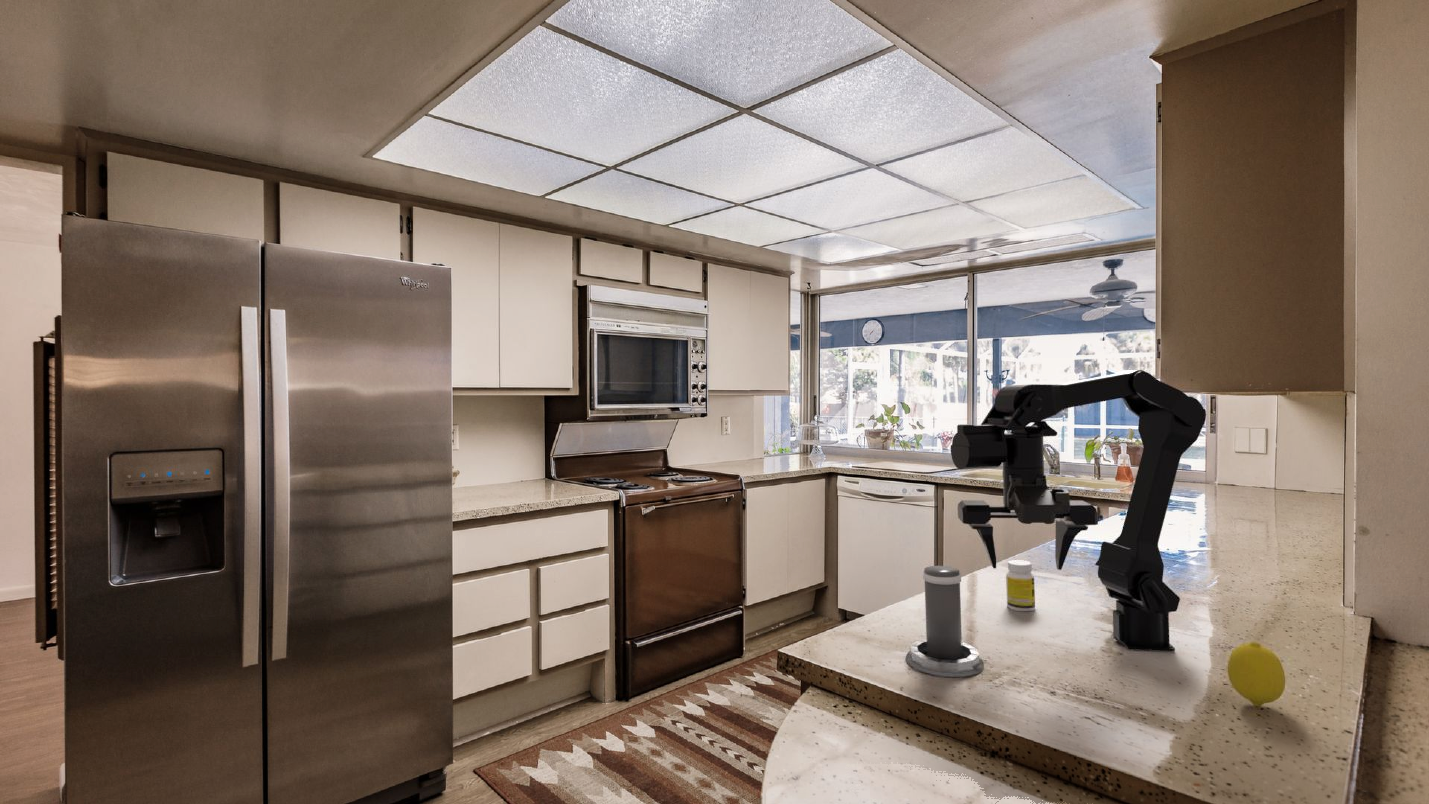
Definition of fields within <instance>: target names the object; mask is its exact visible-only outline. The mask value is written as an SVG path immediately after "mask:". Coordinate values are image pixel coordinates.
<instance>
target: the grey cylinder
mask: <svg viewBox="0 0 1429 804" xmlns="http://www.w3.org/2000/svg"><path fill="white" fill-rule="evenodd" d="M922 579H923V581H924V598H925V599H924V603H925V605H924V607H925V635H926V636H925V637H926V638H925V639H926V640H927V657H931V658H935V659H939V660H959V659H962V642H963V641H962V640H963V637H962V635H963V634H962V611H961V610H962V609H961V608H962V607H961V606H962V605H961V604H962V603H961V582H962V573H961V572H960V569H958V568H956V567H952V566H947V565H930V566H927V567H925V568H924V569H923V571H922Z"/></svg>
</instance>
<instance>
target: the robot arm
mask: <svg viewBox="0 0 1429 804" xmlns="http://www.w3.org/2000/svg"><path fill="white" fill-rule="evenodd" d="M1118 399H1122V400H1123V403H1124V404H1125V406H1126V408H1127V410H1129V411H1130V412H1131V413H1133V414H1134V415H1135V416H1136V417H1137V418H1138V427H1137V430H1138V434H1139V437H1140V439H1141V443H1142V447H1143V449H1142V454H1141V457H1140V461H1139V465H1138V467H1137V469H1138V470H1137V473H1136V475H1135V480H1134V483H1133V486H1132V487H1133V488H1132V490H1131V491H1132V492H1131V496H1130V498H1129V503H1128V506H1127V510H1126V514H1125V518H1124V522H1123V526H1122V529H1121V533H1120V534H1119V536H1118V537H1117V538H1116V539H1114V541H1113V542H1109V541H1105V540H1104V541H1103V542H1102V544H1101V545H1100V552H1099V553H1100V554H1099V557H1098V559H1097V561H1096V562H1095V563H1094V564H1095V566H1097V567H1098V568H1097V576H1098V577H1097V578H1099V579H1100V581H1101V584H1102V585H1103V586H1104V587H1105V590H1106V592H1107V594H1108V596H1109V597H1110V598H1112V599H1116V600H1115V609H1113V611H1112V623H1113V624H1112V627H1113V629H1112V631H1113V632H1112V635H1113V637H1114V638H1115V639H1117V640H1118V642H1120V643H1121V645H1123V646H1124V647H1125V648H1126V649H1127V650H1135V651H1157V652H1158V651H1159V652H1175V651H1176V647H1174V646H1173V645H1172V644H1170V615H1169V614H1170V613H1172V612H1173V613H1175V612H1177V611H1178V607H1179V606H1180V605H1179V603H1180V601H1181V598H1180V596H1178V595H1177V594H1176V593H1175V592H1174V591H1173V590H1172V589H1171V588H1170V587H1169V586H1168V585H1167V584H1166V583H1165V582H1164V580H1163V578H1164V568H1165V565H1164V562H1163V559H1162V554H1161V552H1160V548H1159V541H1160V537H1161V534H1162V530H1163V526H1164V523H1165V519H1166V513H1167V511H1168V507H1169V502H1170V499H1171V496H1172V492H1173V488H1174V483H1175V480H1176V477H1177V473H1178V468H1179V466H1180V465H1179V464H1180V461H1181V458H1182V455H1183V454H1184V453H1186V451H1187V450H1189V448H1191V447H1192V446H1193V444H1194V443H1195V442H1196V441H1197V440H1198V438H1199V437H1200V433H1201V432H1202V429H1203V428H1204V425H1205V422H1206V418H1207V411H1206V409H1205V408H1204V407H1203V405H1202V402H1200V400H1198V399H1197V398H1195V397H1193V396H1189V395H1187V394H1186V393H1185V392H1184V391H1182V390H1180V389H1178V388H1176V387H1174V386H1172V385H1169V384H1167V383H1165V382H1163V381H1161V380H1159V379H1157V378H1156V377H1155V376H1153V375H1152V374H1151V373H1149V372H1147V371H1145V370H1143V369H1136V370H1135V369H1133V370H1121V371H1118V372H1116V373H1112V374H1107V375H1102V376H1101V375H1100V376H1096V377H1091V378H1084V379H1079V380H1072V381H1067V382H1063V383H1057V384H1040V383H1039V384H1036V383H1035V384H1015V385H1014V384H1011V385H1010V384H1009V385H1005V386H1003V387H1001V388H1000V389H999V391H998V392H997V394H996V396H995V399H994V404H993V405H992V407H991V408H990V410H989V412H988V413H987V414H986V416H985V418H984V419H983V420H982V422H981V423H980V424H977V425H976V424H974V425H973V424H965V423H964V424H963V423H962V424H957V426H956V433H955V434H954V436H953V438H952V441H951V442H952V443H951V444H950V456H951V459H952V463H953V464H954V466H955V467H956V468H957V469H959V470H977V469H979V470H981V469H982V470H983V469H996V468H999V467H1000V466H1001V465H1002V481H1003V483H1002V484H1003V486H1002V487H1003V497H1002V498H1003V499H1002V500H1003V505H990V504H989V503H987V502H986V500H982V499H981V500H977V499H976V500H971V499H970V500H969V499H968V500H961V501H960V502H959V503H958V504H957V518H958V519H959V521H960V522H961V523H962V524H964V525H968V526H969V527H970V528H971V529H972V530H976V531H977V533H978V536H979V537H980V539H981V542H982V544H983V546H984V548H985V551H986V554H987V557H988V559H989V562H990V565H991V567H992V569H997V555H996V547H995V542H994V541H995V540H994V526H993V525H992V524H991V523H990V520H991V519H1017V520H1018V522H1019V523H1021V524H1025V525H1030V524H1033V523H1035V524H1045V525H1052V524H1054V523H1055V536H1054V537H1055V542H1054V544H1055V546H1054V547H1055V548H1054V549H1055V552H1054V554H1055V555H1054V557H1055V565H1056V569H1057V570H1059V571H1061V570H1062V568H1063V566H1064V563H1065V560H1066V558H1067V556H1068V553H1069V551H1070V548H1071V545H1072V543H1073V541H1074V539H1075V538H1076V537H1077V535H1079V533H1080V532H1082V531H1088V529H1089V526H1096V525H1099V520H1098V519H1099V516H1098V511H1097V510H1098V509H1097V508H1096V507H1095V506H1094V505H1092V504H1090V503H1089V502H1086V501H1084V500H1071V499H1070V492H1069V490H1068V488H1064V487H1063V488H1061V487H1060V488H1052V489H1049V487H1048V484H1047V477H1046V475H1045V458H1044V457H1045V456H1044V455H1045V454H1044V452H1045V451H1044V450H1045V448H1044V437H1046V438H1047V437H1057V435H1058V432H1057V431H1056V430H1055V429H1054V428H1053V427H1052V426H1050V425H1049V424H1048V423H1047V421H1045V420H1046V419H1049V418H1053V417H1054V416H1057V414H1060V413H1061V412H1062V411H1064V410H1067V409H1070V408H1074V407H1081V406H1086V405H1091V404H1097V403H1101V402H1102V403H1103V402H1106V401H1113V400H1118ZM1031 423H1033V424H1032V425H1030V424H1031ZM1005 431H1007V433H1006V432H1005ZM1009 431H1010V432H1009Z"/></svg>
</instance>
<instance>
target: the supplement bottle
mask: <svg viewBox="0 0 1429 804" xmlns="http://www.w3.org/2000/svg"><path fill="white" fill-rule="evenodd" d="M1007 570H1008V571H1007V572H1006V574H1005V584H1006V585H1005V586H1006V606H1007V607H1008V608H1009V609H1011V610H1013V611H1018V612H1033V611H1034V610H1035V609H1036V591H1035V575H1034V573H1032V571H1033V566H1032V562H1030V561H1028V560H1023V559H1022V560H1021V559H1014V560H1013V559H1012V560H1009V561H1007Z"/></svg>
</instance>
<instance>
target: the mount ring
mask: <svg viewBox="0 0 1429 804" xmlns="http://www.w3.org/2000/svg"><path fill="white" fill-rule="evenodd" d="M905 661H906V663H907V664H908V665H909V666H910V668H912V669H913V670H915V671H918V672H921V673H924V674H927V675H930V676H933V677H941V678H949V679H950V678H951V679H955V678H967V677H972V676H975V675H979V674H980V673H981V672H982V671H983V670H984V669H985V668H984V667H985V664H984V661H983V660H982V658H981V657H980V654H979V652H978V650H977V648H976V647H974V646H972V645H970V644H969V643H967V642H966V641H965V642H964V641H962V659H959V660H939V659H935V658H931V657H927V640H926V638H923V639H917V640H916V641H914V642H913V643H911V644H910V645H909V651H908V652H907V653H906V656H905Z"/></svg>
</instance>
